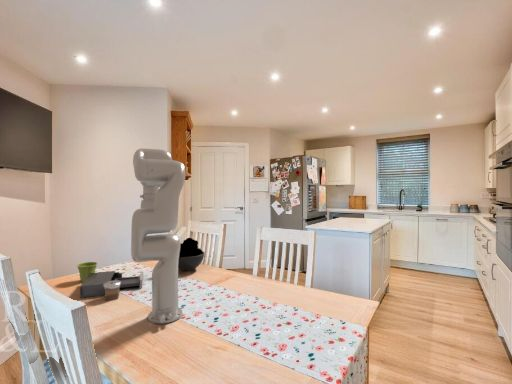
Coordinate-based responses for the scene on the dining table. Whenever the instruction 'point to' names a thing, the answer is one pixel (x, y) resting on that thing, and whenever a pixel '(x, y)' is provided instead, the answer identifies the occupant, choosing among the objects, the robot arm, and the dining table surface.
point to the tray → (131, 281)
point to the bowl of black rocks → (189, 255)
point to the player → (97, 283)
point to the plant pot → (86, 269)
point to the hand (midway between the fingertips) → (151, 230)
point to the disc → (112, 284)
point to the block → (111, 294)
